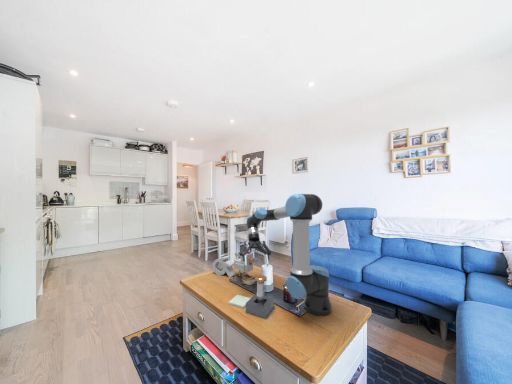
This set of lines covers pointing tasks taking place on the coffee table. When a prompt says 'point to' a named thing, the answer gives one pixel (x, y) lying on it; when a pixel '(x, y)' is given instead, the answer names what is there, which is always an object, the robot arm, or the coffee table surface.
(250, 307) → the eye block
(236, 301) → the pad
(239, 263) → the toy
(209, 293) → the coffee table surface
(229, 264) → the sculpture
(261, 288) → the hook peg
